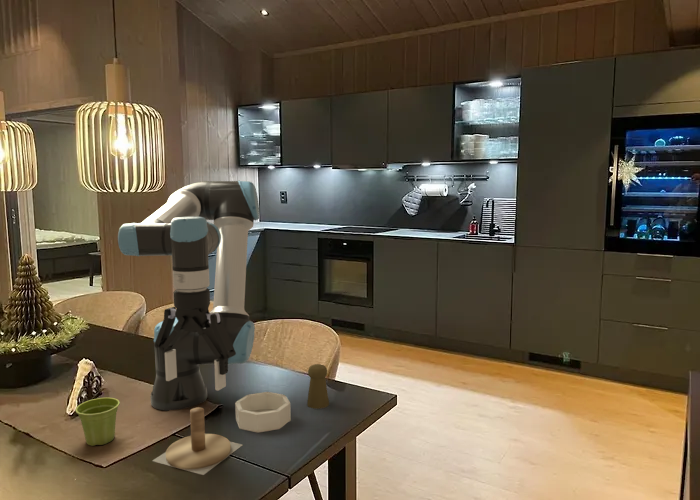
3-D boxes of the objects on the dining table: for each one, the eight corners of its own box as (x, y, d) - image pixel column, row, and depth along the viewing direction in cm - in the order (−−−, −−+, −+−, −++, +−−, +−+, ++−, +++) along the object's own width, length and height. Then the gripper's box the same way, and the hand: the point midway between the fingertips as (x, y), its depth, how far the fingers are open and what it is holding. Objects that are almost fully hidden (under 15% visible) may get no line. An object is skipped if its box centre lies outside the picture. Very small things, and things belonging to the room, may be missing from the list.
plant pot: (93, 454, 122) (91, 417, 121) (69, 443, 127) (67, 408, 126) (130, 437, 130) (127, 402, 129) (106, 427, 135) (103, 394, 134)
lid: (151, 460, 118) (149, 417, 116) (194, 433, 130) (193, 393, 129) (203, 475, 112) (201, 429, 111) (243, 444, 125) (241, 403, 123)
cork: (326, 409, 145) (325, 370, 143) (304, 407, 146) (303, 368, 144) (331, 400, 150) (331, 362, 149) (310, 398, 152) (310, 361, 150)
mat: (152, 463, 118) (151, 460, 118) (194, 435, 131) (194, 433, 130) (203, 477, 112) (203, 474, 112) (243, 446, 125) (243, 444, 125)
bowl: (226, 427, 135) (225, 408, 134) (256, 407, 146) (255, 389, 146) (271, 437, 129) (270, 417, 129) (298, 415, 141) (297, 397, 140)
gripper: (134, 287, 118) (139, 380, 121) (228, 296, 108) (231, 398, 110) (159, 281, 125) (164, 370, 127) (250, 290, 115) (252, 386, 117)
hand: (195, 383), depth 119 cm, fingers open, 13 cm apart
